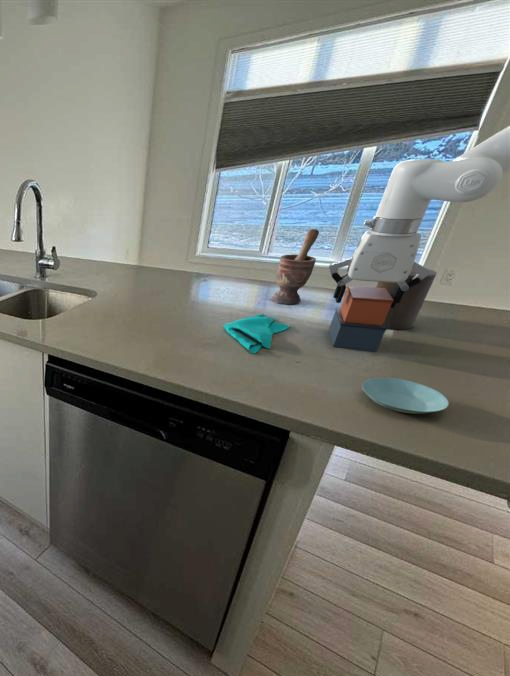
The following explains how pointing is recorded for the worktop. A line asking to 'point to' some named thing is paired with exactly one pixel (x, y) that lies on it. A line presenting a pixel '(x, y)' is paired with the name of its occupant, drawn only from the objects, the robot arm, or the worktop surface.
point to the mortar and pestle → (295, 271)
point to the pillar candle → (407, 302)
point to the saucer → (404, 395)
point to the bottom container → (355, 334)
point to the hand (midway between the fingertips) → (363, 303)
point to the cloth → (255, 331)
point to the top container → (366, 305)
